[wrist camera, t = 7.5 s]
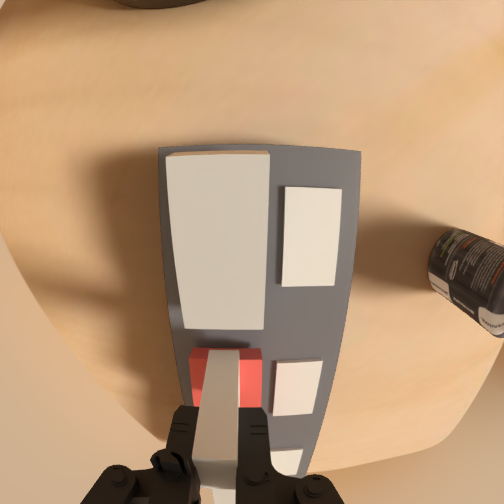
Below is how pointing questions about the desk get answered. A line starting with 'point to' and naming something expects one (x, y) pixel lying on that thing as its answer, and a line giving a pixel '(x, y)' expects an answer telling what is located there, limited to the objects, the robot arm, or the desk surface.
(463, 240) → the pill bottle
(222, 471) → the robot arm
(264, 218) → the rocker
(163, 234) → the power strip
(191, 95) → the desk surface
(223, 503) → the block
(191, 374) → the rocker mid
